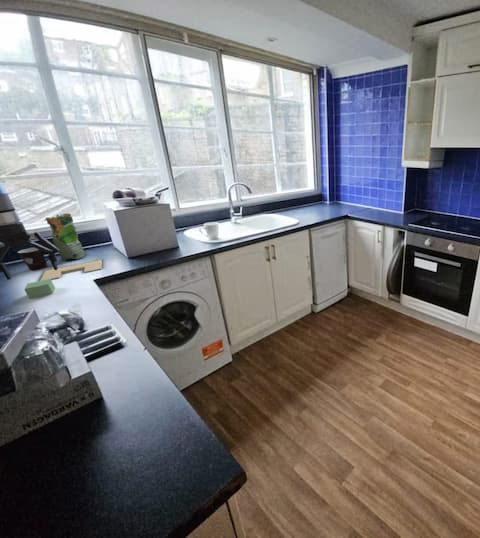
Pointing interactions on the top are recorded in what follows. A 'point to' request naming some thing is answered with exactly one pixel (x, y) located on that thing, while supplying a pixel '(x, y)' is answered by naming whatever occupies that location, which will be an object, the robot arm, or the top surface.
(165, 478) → the top surface
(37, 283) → the green block
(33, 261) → the coffee mug
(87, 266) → the beige flat board
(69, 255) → the pouch
